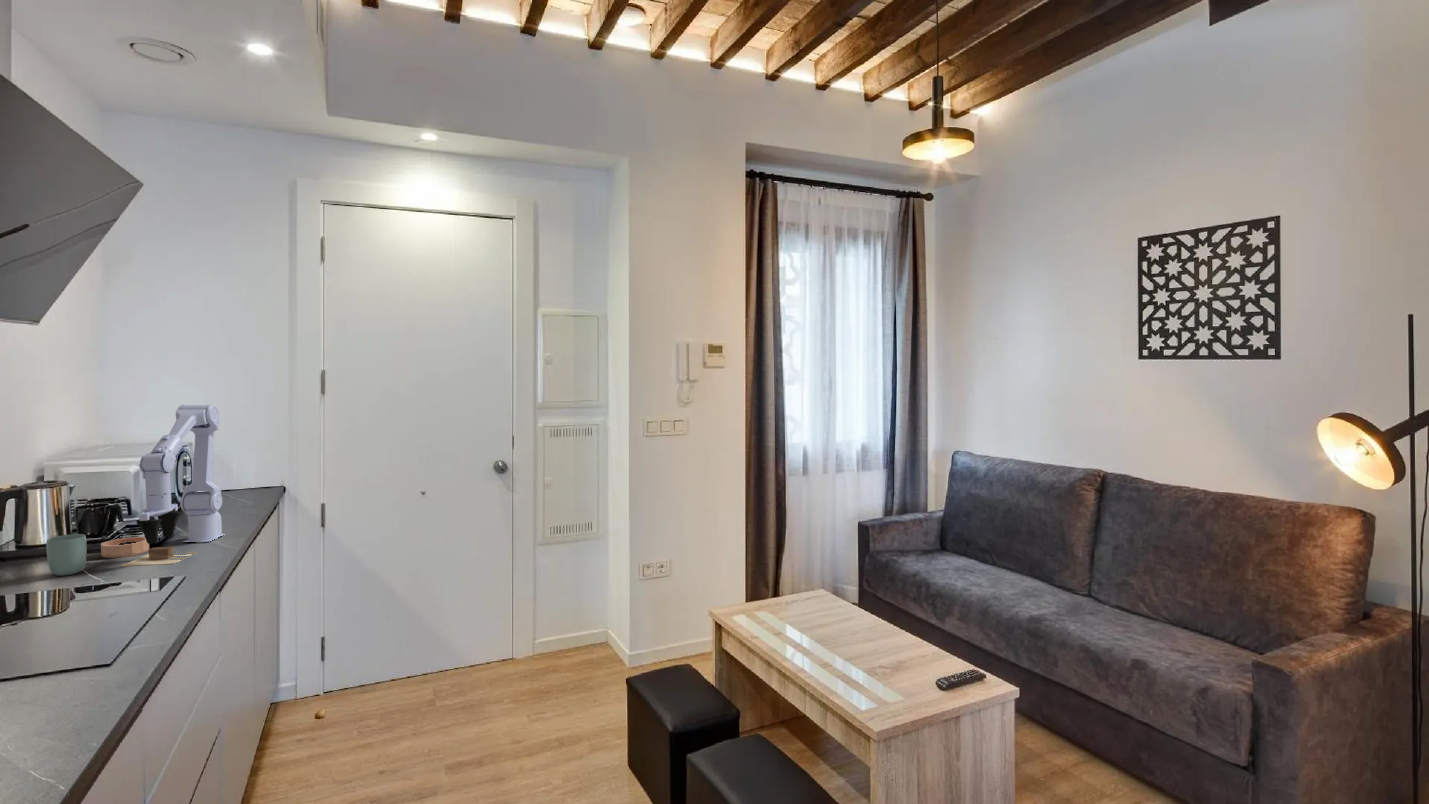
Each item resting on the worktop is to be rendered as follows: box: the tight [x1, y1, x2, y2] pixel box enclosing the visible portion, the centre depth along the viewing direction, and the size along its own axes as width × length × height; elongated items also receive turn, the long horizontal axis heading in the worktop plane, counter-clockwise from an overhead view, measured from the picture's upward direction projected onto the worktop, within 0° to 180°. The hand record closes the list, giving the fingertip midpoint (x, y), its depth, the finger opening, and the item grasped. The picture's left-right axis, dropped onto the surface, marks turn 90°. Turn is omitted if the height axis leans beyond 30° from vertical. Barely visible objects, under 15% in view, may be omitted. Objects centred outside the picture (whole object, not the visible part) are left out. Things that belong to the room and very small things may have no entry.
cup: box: [46, 533, 88, 577], centre depth 187 cm, size 8×8×10 cm
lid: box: [120, 546, 198, 567], centre depth 202 cm, size 14×14×4 cm
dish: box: [100, 536, 150, 559], centre depth 208 cm, size 11×11×4 cm
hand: (160, 539), depth 202 cm, fingers open, 7 cm apart
